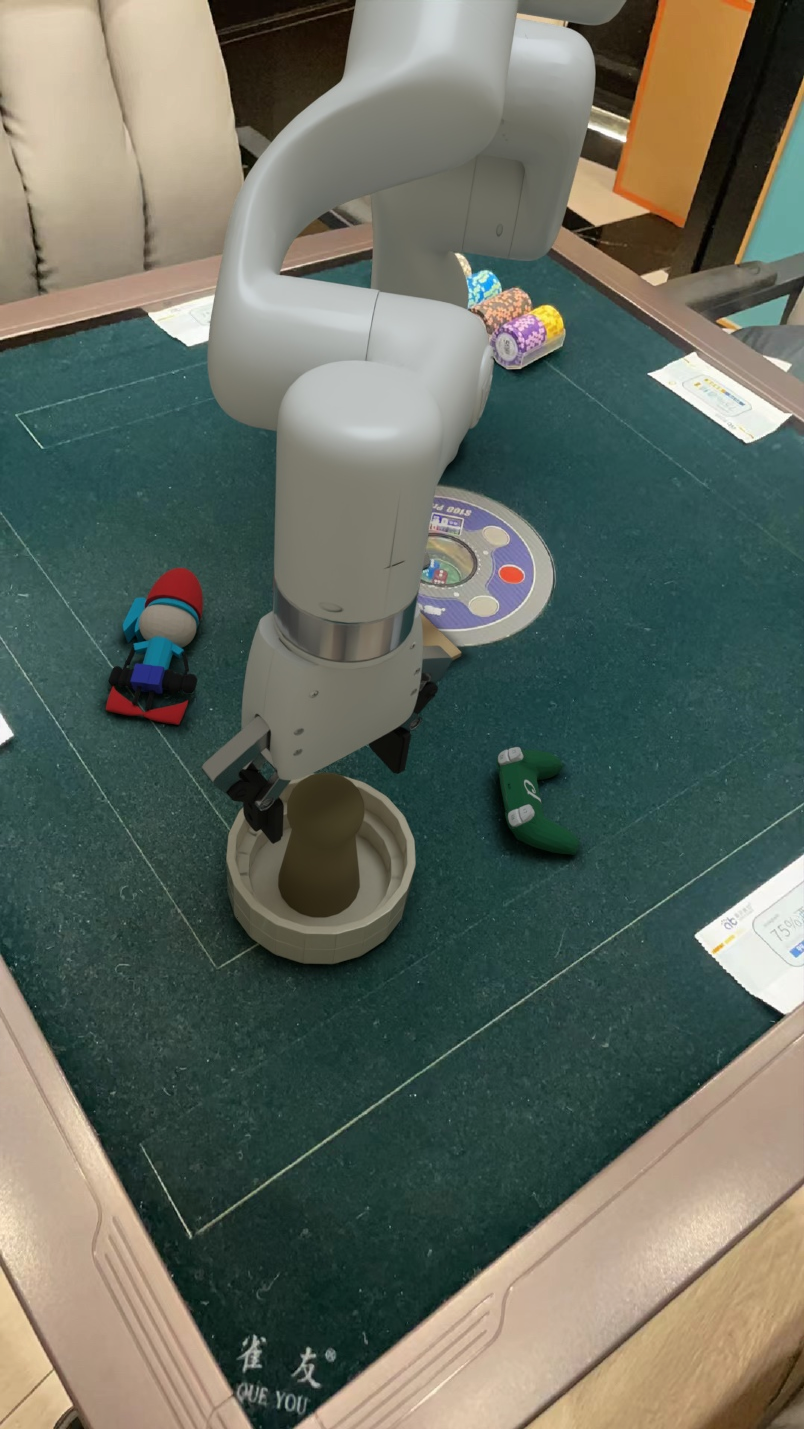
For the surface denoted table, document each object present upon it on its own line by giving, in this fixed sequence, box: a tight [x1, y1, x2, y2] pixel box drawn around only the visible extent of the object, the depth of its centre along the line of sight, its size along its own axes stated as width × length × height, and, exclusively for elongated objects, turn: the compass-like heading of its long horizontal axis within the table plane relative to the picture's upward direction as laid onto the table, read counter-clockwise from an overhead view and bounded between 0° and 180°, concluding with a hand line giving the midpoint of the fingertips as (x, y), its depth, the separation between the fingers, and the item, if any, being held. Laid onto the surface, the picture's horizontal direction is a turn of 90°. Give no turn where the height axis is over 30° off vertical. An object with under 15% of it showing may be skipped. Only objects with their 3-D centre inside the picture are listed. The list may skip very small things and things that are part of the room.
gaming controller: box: [496, 746, 580, 856], centre depth 83 cm, size 9×4×6 cm
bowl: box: [225, 773, 417, 965], centre depth 76 cm, size 13×13×5 cm
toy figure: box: [105, 567, 204, 725], centre depth 89 cm, size 8×5×15 cm
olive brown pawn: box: [278, 772, 365, 918], centre depth 73 cm, size 6×6×11 cm
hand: (327, 791), depth 68 cm, fingers open, 9 cm apart
